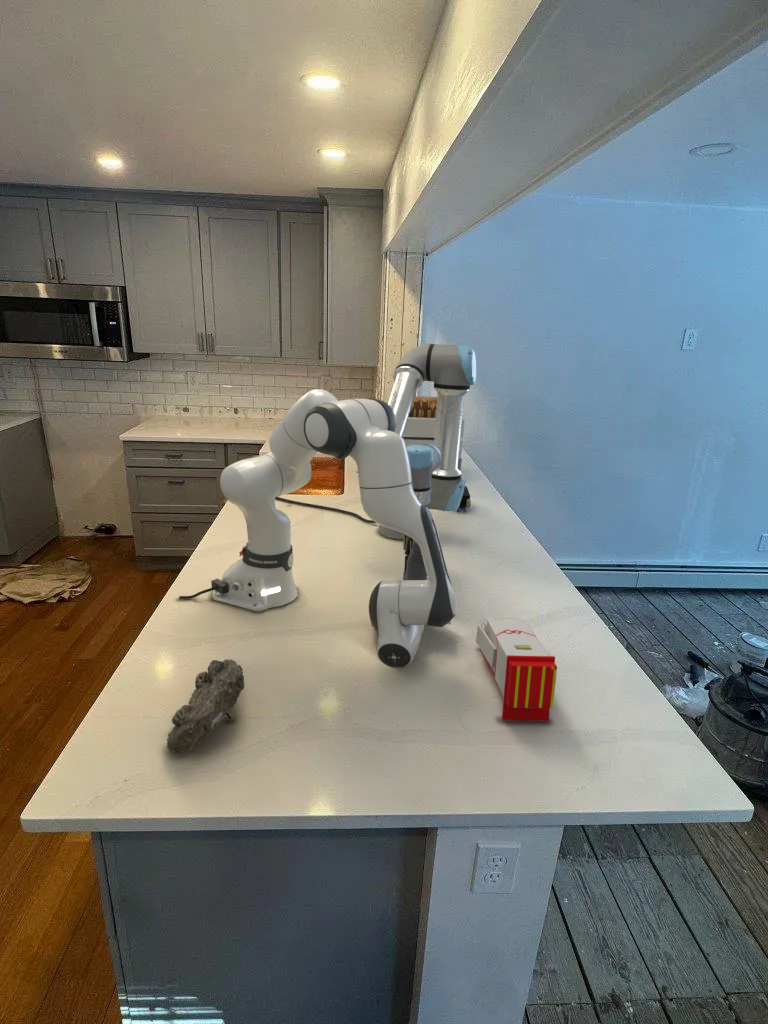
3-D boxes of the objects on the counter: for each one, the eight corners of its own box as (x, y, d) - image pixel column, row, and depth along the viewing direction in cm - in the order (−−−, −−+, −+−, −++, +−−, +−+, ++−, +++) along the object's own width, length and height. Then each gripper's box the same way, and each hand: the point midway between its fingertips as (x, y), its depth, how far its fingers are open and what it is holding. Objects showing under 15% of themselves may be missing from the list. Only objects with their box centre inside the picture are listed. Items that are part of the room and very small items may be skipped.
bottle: (399, 614, 147) (403, 540, 140) (413, 608, 151) (418, 535, 144) (413, 623, 144) (419, 546, 136) (428, 616, 147) (434, 541, 140)
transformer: (382, 463, 289) (386, 382, 275) (445, 464, 293) (451, 384, 279) (390, 482, 257) (394, 392, 243) (460, 483, 261) (468, 394, 247)
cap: (409, 584, 159) (409, 578, 158) (399, 578, 162) (400, 572, 161) (420, 581, 161) (421, 574, 161) (411, 575, 164) (412, 568, 164)
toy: (523, 604, 135) (566, 662, 106) (518, 656, 138) (559, 727, 109) (472, 603, 135) (501, 661, 105) (468, 655, 138) (496, 726, 108)
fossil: (192, 660, 117) (244, 628, 112) (224, 691, 120) (276, 661, 115) (142, 746, 98) (202, 712, 93) (182, 779, 101) (242, 748, 96)
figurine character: (470, 516, 223) (465, 500, 237) (473, 499, 220) (467, 484, 233) (453, 516, 223) (449, 500, 236) (455, 498, 220) (451, 483, 233)
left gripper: (452, 613, 130) (457, 587, 143) (365, 601, 134) (378, 576, 147) (449, 637, 132) (455, 609, 145) (364, 625, 136) (377, 598, 149)
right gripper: (395, 493, 161) (391, 567, 169) (409, 514, 145) (403, 595, 153) (421, 493, 163) (416, 567, 170) (437, 513, 147) (430, 594, 154)
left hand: (415, 592), depth 146 cm, fingers closed on bottle, 5 cm apart
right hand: (410, 580), depth 162 cm, fingers closed on cap, 4 cm apart
